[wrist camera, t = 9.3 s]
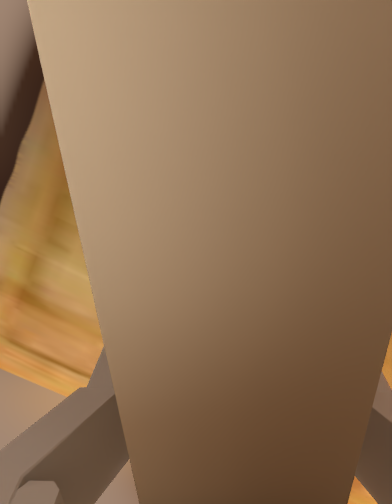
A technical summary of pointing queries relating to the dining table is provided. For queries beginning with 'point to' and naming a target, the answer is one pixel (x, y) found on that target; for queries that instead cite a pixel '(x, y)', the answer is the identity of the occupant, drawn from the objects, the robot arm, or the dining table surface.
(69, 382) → the dining table surface
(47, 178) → the dining table surface
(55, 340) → the dining table surface
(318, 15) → the sheet
